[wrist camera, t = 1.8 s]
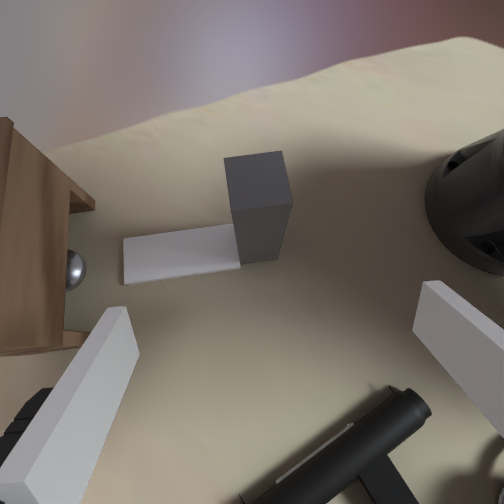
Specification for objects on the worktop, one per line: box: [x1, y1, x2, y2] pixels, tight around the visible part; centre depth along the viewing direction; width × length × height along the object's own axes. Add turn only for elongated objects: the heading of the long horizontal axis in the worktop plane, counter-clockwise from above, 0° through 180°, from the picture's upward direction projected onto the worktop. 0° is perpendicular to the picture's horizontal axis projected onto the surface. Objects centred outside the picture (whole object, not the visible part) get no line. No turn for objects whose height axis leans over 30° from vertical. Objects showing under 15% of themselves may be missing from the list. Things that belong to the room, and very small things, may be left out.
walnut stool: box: [0, 117, 95, 356], centre depth 24 cm, size 6×16×13 cm, turn 8°
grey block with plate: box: [123, 151, 293, 285], centre depth 25 cm, size 16×5×13 cm, turn 98°
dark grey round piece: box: [65, 249, 86, 292], centre depth 30 cm, size 4×4×1 cm
